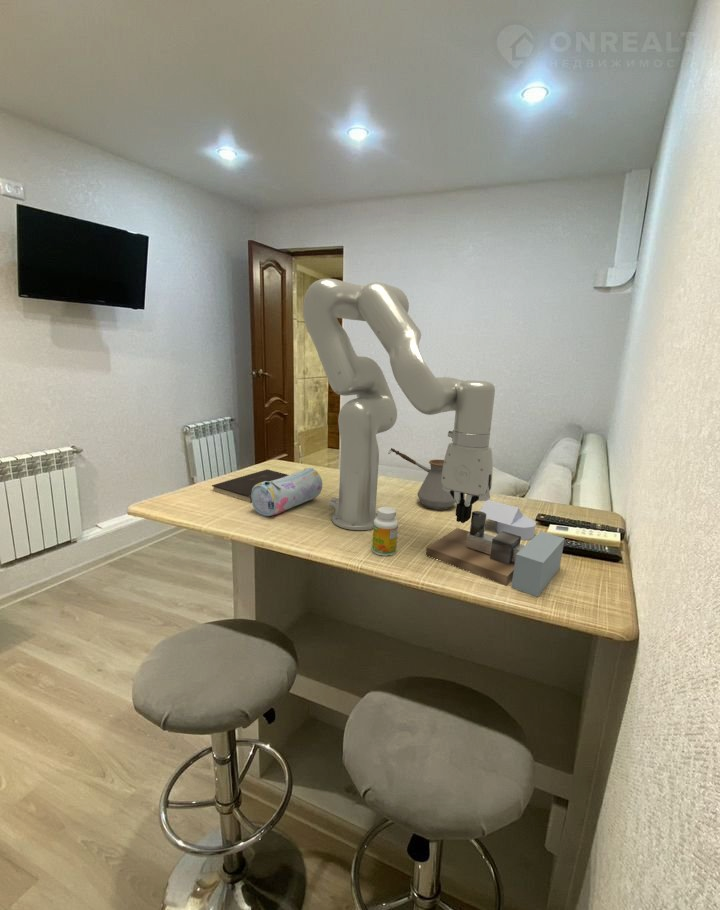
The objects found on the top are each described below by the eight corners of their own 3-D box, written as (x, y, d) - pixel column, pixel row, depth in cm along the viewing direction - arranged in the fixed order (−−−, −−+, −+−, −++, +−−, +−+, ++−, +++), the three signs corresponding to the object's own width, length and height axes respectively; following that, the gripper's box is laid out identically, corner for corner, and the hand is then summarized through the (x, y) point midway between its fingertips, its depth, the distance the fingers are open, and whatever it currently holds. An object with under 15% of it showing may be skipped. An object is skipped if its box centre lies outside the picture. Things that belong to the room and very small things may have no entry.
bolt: (465, 546, 98) (469, 513, 96) (471, 542, 100) (475, 510, 98) (520, 564, 91) (525, 529, 89) (525, 559, 93) (530, 525, 91)
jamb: (511, 587, 86) (516, 554, 84) (535, 560, 98) (540, 531, 96) (537, 597, 83) (543, 562, 82) (559, 568, 95) (564, 538, 93)
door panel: (425, 555, 97) (428, 528, 96) (456, 535, 109) (459, 510, 107) (506, 585, 87) (510, 554, 85) (530, 559, 98) (535, 532, 97)
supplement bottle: (366, 550, 99) (369, 508, 96) (383, 543, 102) (385, 503, 100) (384, 559, 95) (387, 516, 93) (401, 551, 99) (404, 510, 96)
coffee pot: (459, 502, 133) (465, 453, 129) (452, 515, 122) (457, 462, 119) (391, 490, 140) (395, 444, 137) (379, 501, 130) (382, 451, 126)
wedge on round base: (476, 528, 114) (527, 543, 107) (479, 503, 113) (530, 517, 105) (489, 518, 121) (538, 532, 113) (493, 495, 120) (542, 507, 112)
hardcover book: (212, 492, 132) (211, 485, 131) (267, 475, 151) (267, 469, 150) (250, 504, 124) (250, 497, 123) (303, 485, 143) (304, 478, 142)
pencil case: (271, 521, 112) (271, 485, 109) (247, 513, 116) (247, 478, 114) (324, 500, 128) (325, 469, 126) (301, 493, 133) (302, 463, 131)
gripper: (431, 436, 96) (424, 516, 100) (498, 448, 87) (488, 535, 92) (447, 432, 102) (440, 508, 106) (512, 443, 93) (501, 525, 97)
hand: (462, 520), depth 99 cm, fingers closed
